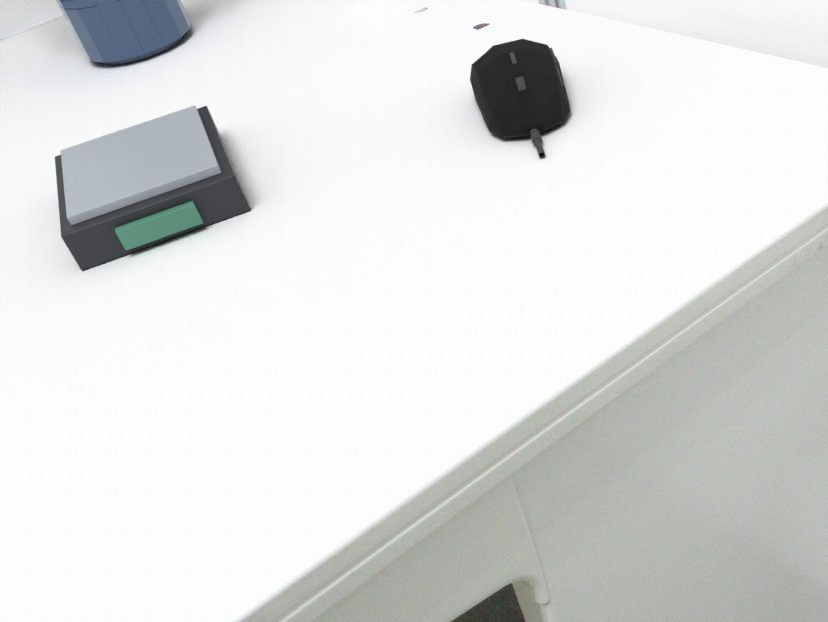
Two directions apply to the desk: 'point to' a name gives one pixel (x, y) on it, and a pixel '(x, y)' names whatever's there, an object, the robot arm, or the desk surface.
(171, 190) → the scale
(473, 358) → the desk surface
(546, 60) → the gaming mouse
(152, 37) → the blue faceted tumbler
